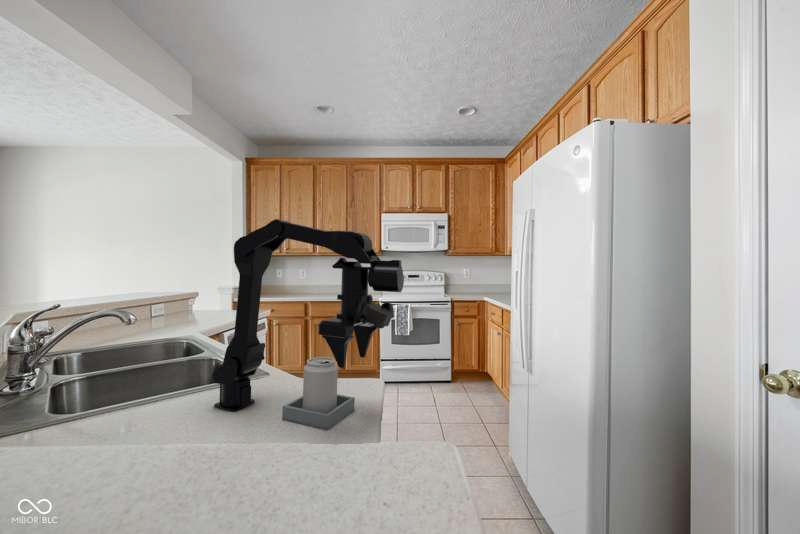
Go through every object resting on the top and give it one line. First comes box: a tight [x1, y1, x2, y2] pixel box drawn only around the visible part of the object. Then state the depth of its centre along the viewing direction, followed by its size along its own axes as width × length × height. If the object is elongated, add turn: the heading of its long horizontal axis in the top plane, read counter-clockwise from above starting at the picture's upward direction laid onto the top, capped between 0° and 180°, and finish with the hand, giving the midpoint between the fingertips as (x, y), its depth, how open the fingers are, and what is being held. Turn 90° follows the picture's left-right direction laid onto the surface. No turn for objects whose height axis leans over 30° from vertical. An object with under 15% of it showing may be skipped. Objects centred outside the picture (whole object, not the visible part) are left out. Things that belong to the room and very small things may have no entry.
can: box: [302, 356, 339, 414], centre depth 83 cm, size 8×8×12 cm
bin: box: [281, 393, 356, 431], centre depth 83 cm, size 11×11×3 cm
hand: (352, 362), depth 80 cm, fingers open, 9 cm apart
